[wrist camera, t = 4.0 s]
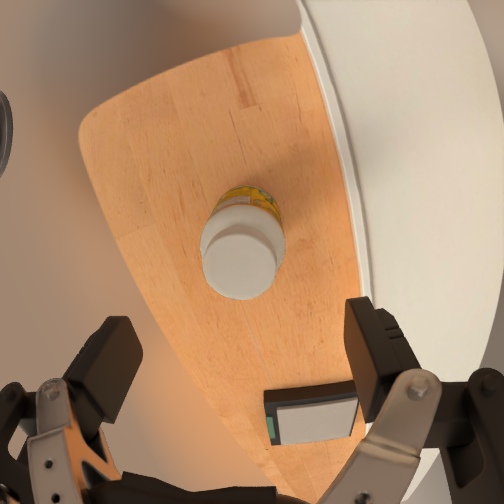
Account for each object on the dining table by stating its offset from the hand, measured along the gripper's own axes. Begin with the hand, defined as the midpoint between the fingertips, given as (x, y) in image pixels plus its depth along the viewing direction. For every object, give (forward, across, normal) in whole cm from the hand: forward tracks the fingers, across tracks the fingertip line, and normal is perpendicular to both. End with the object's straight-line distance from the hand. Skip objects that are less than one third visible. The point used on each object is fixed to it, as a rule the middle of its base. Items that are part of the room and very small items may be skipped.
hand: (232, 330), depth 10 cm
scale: (+15, -4, +28) cm, 32 cm away
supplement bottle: (+15, 0, 0) cm, 15 cm away
